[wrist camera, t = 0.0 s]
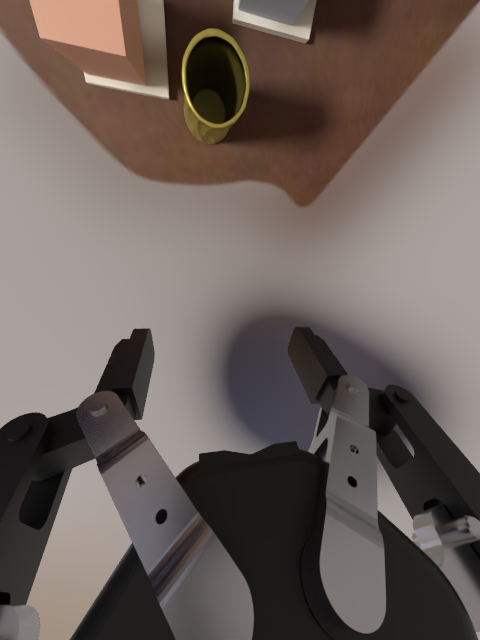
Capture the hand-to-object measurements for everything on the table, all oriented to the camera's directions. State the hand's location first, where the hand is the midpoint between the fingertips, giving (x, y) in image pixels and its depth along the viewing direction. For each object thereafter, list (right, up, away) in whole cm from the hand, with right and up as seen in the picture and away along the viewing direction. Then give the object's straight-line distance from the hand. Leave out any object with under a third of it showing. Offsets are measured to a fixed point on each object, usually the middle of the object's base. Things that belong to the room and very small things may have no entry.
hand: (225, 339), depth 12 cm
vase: (-3, +28, +16) cm, 32 cm away
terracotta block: (-13, +30, +10) cm, 34 cm away
